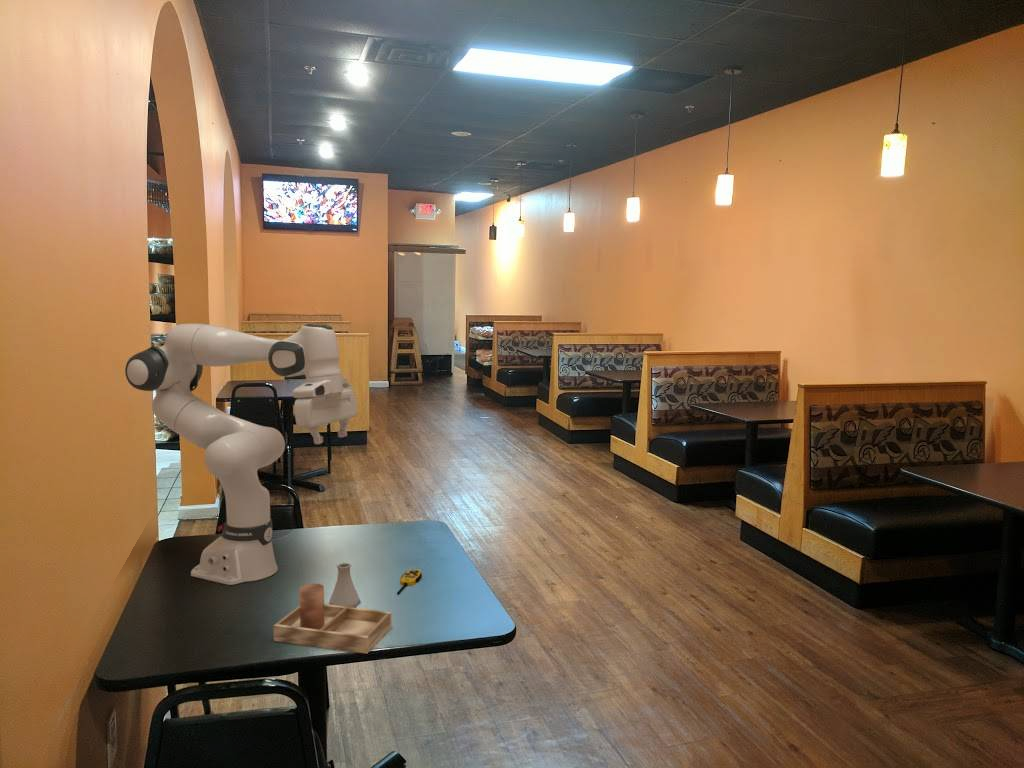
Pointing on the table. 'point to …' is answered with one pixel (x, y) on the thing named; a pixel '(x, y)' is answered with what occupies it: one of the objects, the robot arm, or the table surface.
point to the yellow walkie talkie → (410, 578)
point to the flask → (344, 588)
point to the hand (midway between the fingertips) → (331, 440)
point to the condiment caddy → (331, 624)
